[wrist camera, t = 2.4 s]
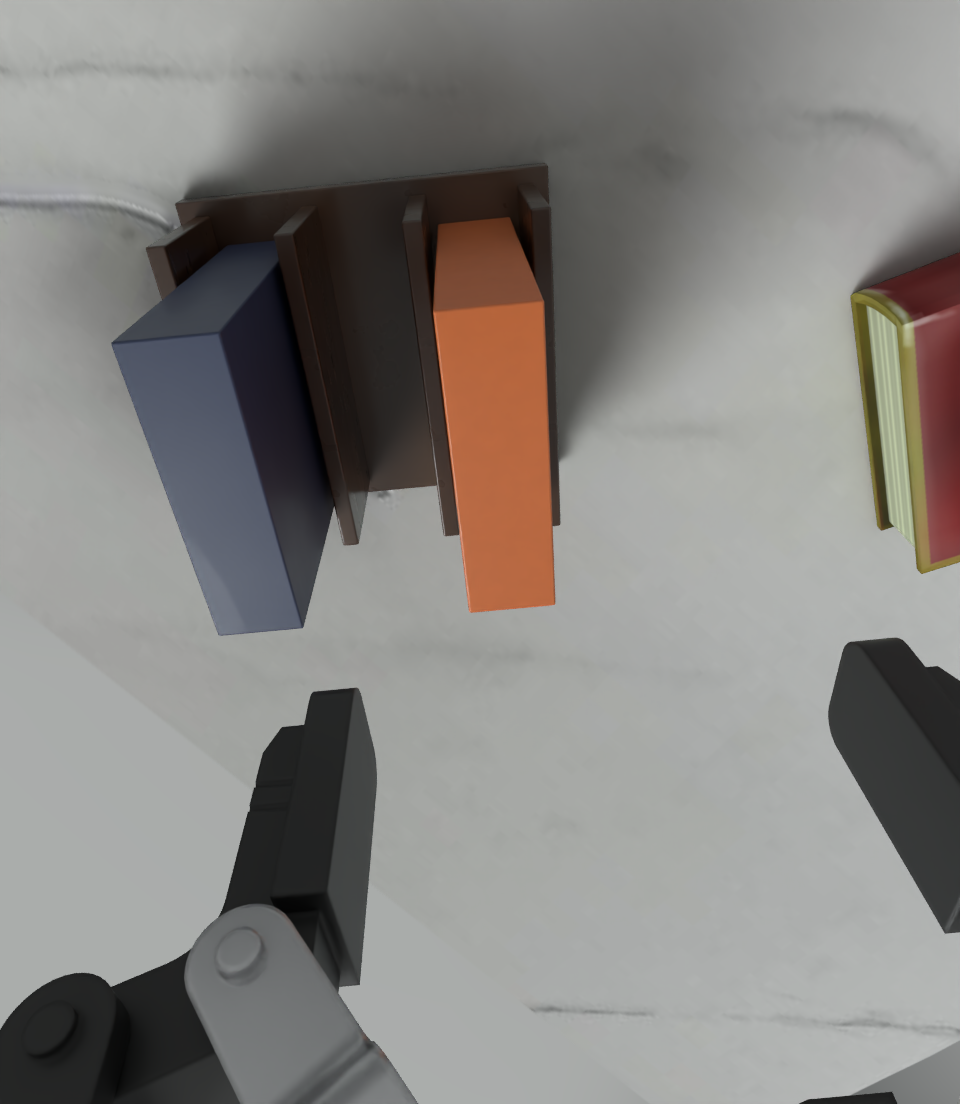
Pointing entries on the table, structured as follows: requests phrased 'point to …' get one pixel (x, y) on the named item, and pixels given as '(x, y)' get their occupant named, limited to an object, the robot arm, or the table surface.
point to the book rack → (373, 311)
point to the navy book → (234, 436)
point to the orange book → (496, 412)
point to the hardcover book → (914, 405)
